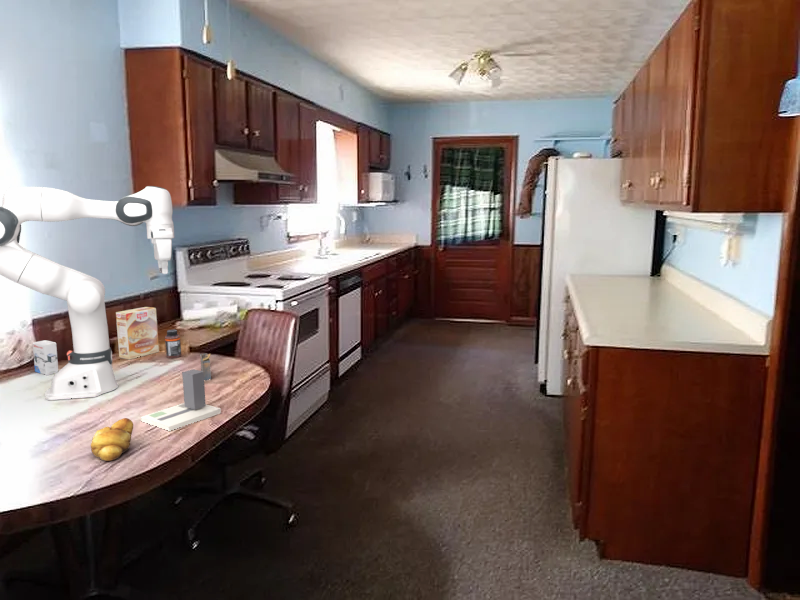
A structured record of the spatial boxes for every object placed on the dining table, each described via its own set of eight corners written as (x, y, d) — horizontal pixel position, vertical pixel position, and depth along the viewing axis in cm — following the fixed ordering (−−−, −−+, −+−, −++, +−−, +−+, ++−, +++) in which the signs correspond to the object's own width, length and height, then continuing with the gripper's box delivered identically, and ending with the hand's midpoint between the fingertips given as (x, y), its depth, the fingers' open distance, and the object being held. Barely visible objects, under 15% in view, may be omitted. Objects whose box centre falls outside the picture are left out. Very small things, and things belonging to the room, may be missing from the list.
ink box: (34, 372, 233) (31, 342, 231) (47, 369, 238) (44, 339, 236) (46, 375, 229) (43, 345, 227) (59, 372, 233) (56, 342, 231)
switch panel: (169, 431, 172) (169, 426, 172) (141, 421, 180) (140, 416, 180) (220, 413, 187) (220, 408, 187) (192, 404, 195) (192, 399, 195)
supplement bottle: (167, 355, 256) (165, 329, 255) (182, 354, 258) (180, 328, 256) (165, 359, 251) (163, 332, 249) (180, 358, 252) (178, 331, 250)
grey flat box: (212, 380, 222) (210, 355, 220) (203, 381, 221) (202, 355, 219) (209, 372, 232) (208, 347, 231) (201, 373, 231) (199, 348, 229)
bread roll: (123, 463, 153) (121, 432, 151) (82, 466, 151) (79, 435, 150) (137, 442, 165) (134, 414, 164) (99, 445, 164) (96, 417, 162)
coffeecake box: (129, 359, 250) (125, 313, 247) (118, 357, 253) (114, 311, 250) (160, 351, 263) (156, 307, 260) (149, 349, 266) (145, 306, 263)
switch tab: (194, 409, 184) (192, 374, 183) (184, 406, 187) (182, 372, 185) (205, 406, 188) (203, 371, 186) (195, 403, 190) (193, 369, 189)
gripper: (148, 234, 219) (151, 272, 220) (153, 233, 201) (156, 275, 202) (167, 233, 222) (169, 271, 223) (173, 232, 204) (176, 274, 205)
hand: (163, 273), depth 213 cm, fingers open, 8 cm apart
